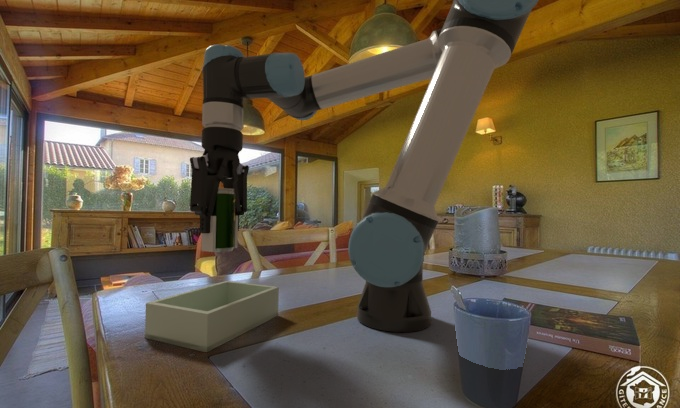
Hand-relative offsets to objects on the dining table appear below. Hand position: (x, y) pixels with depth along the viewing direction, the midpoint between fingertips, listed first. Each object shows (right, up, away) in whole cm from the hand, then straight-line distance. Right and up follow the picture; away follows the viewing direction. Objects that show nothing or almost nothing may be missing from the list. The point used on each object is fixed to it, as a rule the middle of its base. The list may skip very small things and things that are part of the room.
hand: (220, 249), depth 63 cm
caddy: (0, -15, 0) cm, 15 cm away
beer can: (0, 0, 0) cm, 0 cm away
